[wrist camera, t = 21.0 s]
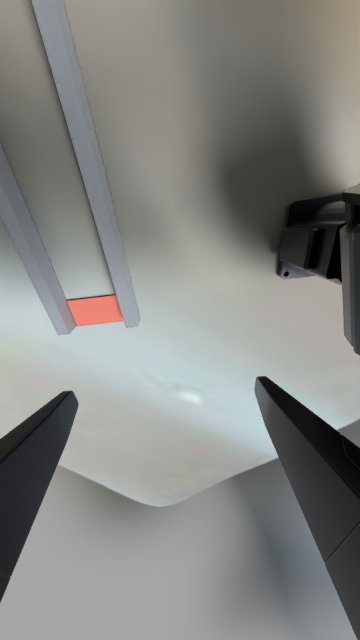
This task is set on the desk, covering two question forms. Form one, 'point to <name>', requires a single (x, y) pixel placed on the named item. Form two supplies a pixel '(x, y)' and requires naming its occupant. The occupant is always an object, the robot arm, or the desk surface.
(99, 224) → the channel
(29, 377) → the desk surface
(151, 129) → the desk surface
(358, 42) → the desk surface
